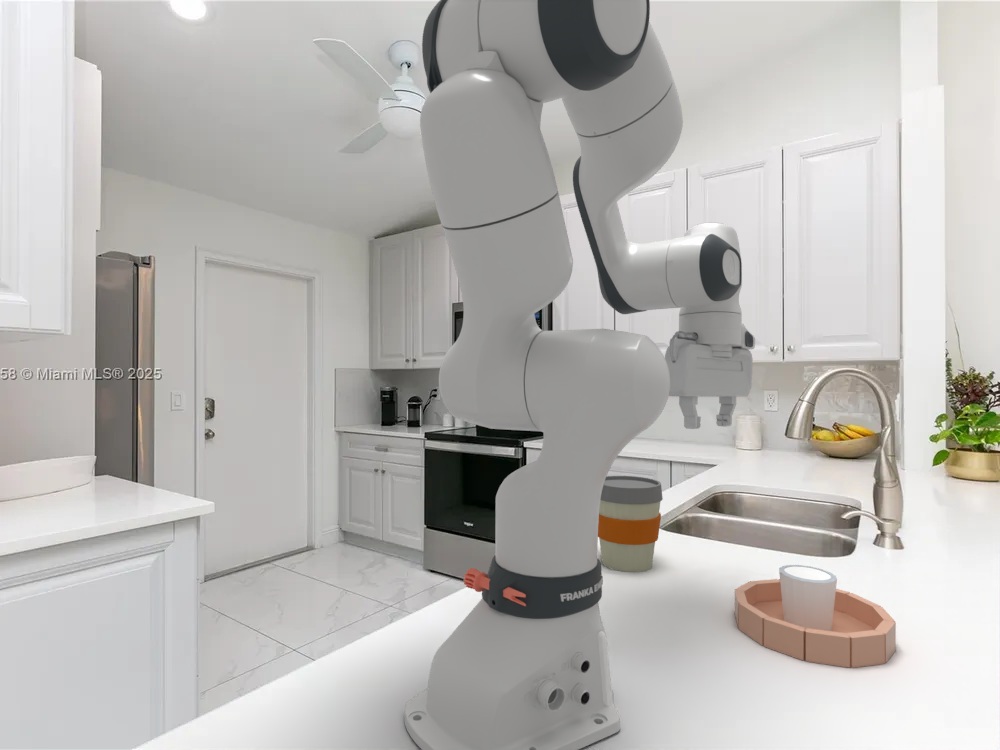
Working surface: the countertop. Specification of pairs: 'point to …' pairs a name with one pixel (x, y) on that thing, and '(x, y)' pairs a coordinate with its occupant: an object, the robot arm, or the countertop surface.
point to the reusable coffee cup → (629, 522)
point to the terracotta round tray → (851, 643)
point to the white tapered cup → (808, 596)
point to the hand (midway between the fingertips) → (708, 427)
